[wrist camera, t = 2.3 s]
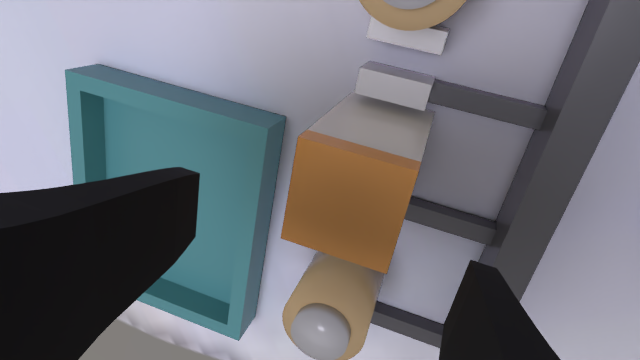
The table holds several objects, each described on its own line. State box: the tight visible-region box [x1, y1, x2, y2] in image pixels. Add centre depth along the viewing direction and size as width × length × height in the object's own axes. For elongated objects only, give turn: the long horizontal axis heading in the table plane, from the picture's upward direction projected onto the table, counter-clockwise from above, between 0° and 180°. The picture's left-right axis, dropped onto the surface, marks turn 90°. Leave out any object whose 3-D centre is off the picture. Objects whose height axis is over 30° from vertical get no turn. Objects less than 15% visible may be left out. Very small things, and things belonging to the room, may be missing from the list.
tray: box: [65, 64, 286, 341], centre depth 23 cm, size 11×13×2 cm
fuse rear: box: [282, 251, 384, 360], centre depth 20 cm, size 4×4×6 cm
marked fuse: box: [281, 91, 435, 274], centre depth 16 cm, size 4×4×7 cm
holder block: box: [354, 0, 640, 348], centre depth 18 cm, size 9×19×2 cm, turn 169°
